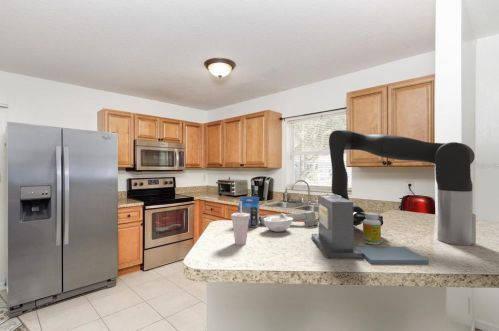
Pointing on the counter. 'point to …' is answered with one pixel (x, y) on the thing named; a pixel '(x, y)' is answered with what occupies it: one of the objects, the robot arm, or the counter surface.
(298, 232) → the counter surface
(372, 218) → the supplement bottle
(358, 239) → the counter surface
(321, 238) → the mounted unit
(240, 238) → the smoothie
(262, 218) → the grey knobbed handle
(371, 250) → the mat
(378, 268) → the counter surface
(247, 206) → the label tape box
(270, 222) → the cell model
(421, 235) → the counter surface
